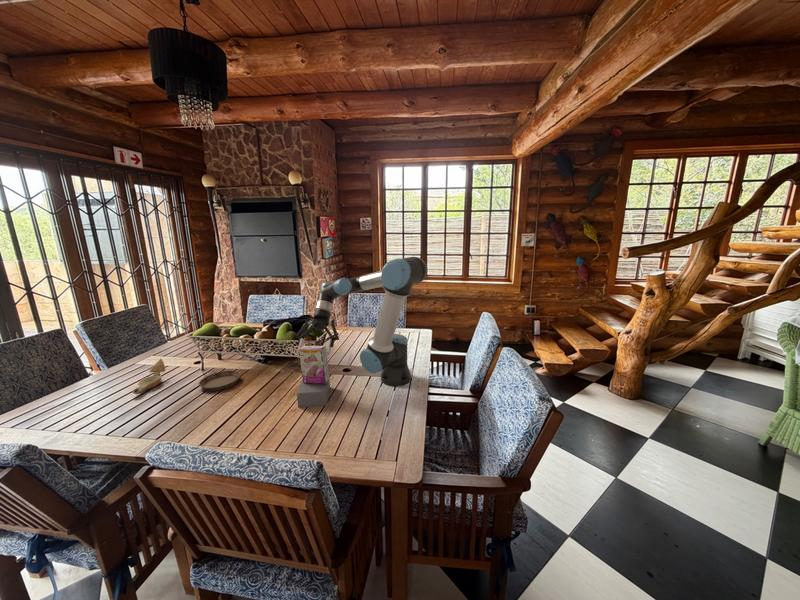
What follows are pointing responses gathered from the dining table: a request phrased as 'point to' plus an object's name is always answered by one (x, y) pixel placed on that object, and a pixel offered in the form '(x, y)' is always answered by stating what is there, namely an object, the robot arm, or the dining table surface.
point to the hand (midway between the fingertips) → (313, 353)
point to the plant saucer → (219, 380)
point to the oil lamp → (151, 378)
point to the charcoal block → (313, 394)
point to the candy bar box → (314, 364)
